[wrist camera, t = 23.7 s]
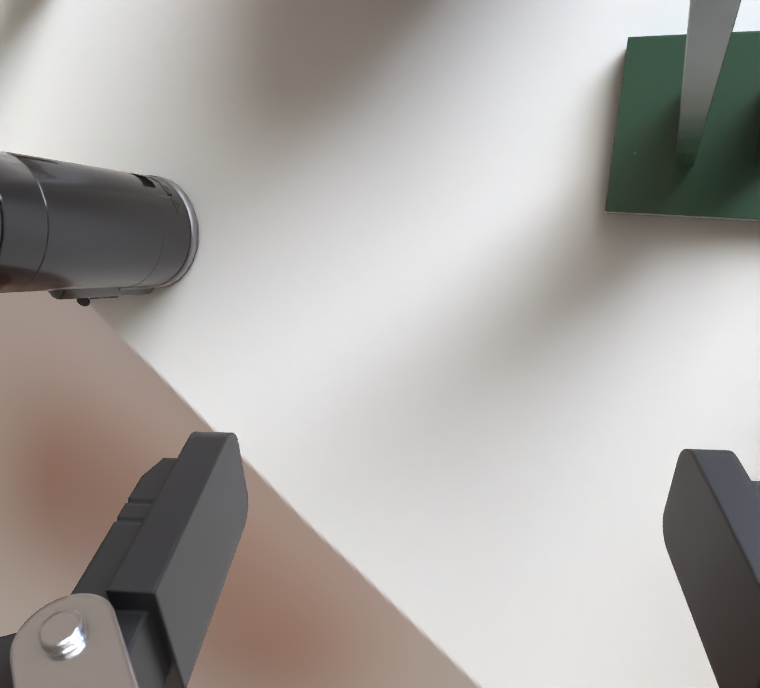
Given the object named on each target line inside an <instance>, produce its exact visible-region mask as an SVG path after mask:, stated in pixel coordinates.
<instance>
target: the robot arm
mask: <svg viewBox="0 0 760 688" xmlns="http://www.w3.org/2000/svg"><path fill="white" fill-rule="evenodd" d="M197 243H198V225H197V219H196V215H195V212H194V209H193V206H192V204H191V202H190V200H189V198H188V197H187V195H186V194H185V193H184V191H183V190H182V189H181V188H180V187H179V186H178V185H177V184H175V183H174V182H172V181H170V180H168V179H166V178H163V177H158V176H151V175H143V174H142V175H139V174H138V173H137V174H133V172H132V173H127V172H122V171H116V170H110V169H104V168H98V167H93V166H87V165H81V164H75V163H69V162H63V161H57V160H51V159H45V158H39V157H33V156H27V155H21V154H15V153H9V152H2V151H0V293H5V292H25V291H48V292H49V293H50V294H51V295H52V297H54V298H56V299H74V298H77V302H78V303H79V304H80V305H82V306H88V305H89V304H90V300H89V299H88V298H90V299H100V298H116V297H119V296H126V295H143V294H150V293H151V291H152V290H153V289H154V288H155V287H165V286H168V285H171V284H173V283H174V282H176V281H177V280H179V279H180V278H181V277H182V276H183V275H184V274H185V273H186V272H187V270H188V269H189V267H190V265H191V263H192V261H193V259H194V256H195V253H196V249H197ZM247 511H248V493H247V488H246V482H245V477H244V471H243V466H242V460H241V455H240V449H239V444H238V439H237V437H236V435H235V434H234V433H224V432H193V433H192V434H191V435H190V437H189V438H188V440H187V442H186V444H185V446H184V447H183V449H182V451H181V453H180V455H179V457H178V458H163V459H162V460H161V461H160V462H158V463H157V464H156V465H155V466H154V467H152V468H151V469H150V470H149V471H148V472H147V473H145V474H144V475H143V476H142V477H141V479H140V480H139V482H138V483H137V485H136V487H135V489H134V490H133V492H132V493H131V495H130V497H129V498H128V503H126V504H125V505H124V507H123V509H122V510H121V512H120V514H119V515H118V517H117V518H118V519H117V522H114V524H113V525H112V527H111V529H110V530H109V532H108V534H107V535H106V537H105V539H104V540H103V542H102V544H101V545H100V547H99V549H98V550H97V552H96V554H95V555H94V557H93V559H92V560H91V562H90V564H89V565H88V567H87V569H86V571H85V572H84V574H83V575H82V577H81V579H80V580H79V582H78V584H77V586H76V587H75V589H74V591H73V592H72V593H71V595H69V596H65V597H63V598H59V599H57V600H55V601H53V602H51V603H49V604H47V605H45V606H44V607H42V608H41V609H39V610H38V611H37V612H36V613H34V614H33V615H32V616H31V617H30V618H29V619H28V620H27V621H26V622H25V623H24V624H23V625H22V627H21V628H20V629H19V631H18V632H17V633H14V634H11V635H7V636H3V637H0V688H187V685H188V682H189V679H190V676H191V674H192V671H193V668H194V665H195V663H196V660H197V657H198V654H199V652H200V649H201V646H202V643H203V640H204V638H205V635H206V632H207V629H208V626H209V624H210V621H211V618H212V616H213V613H214V610H215V607H216V604H217V602H218V599H219V596H220V593H221V590H222V588H223V585H224V582H225V579H226V577H227V574H228V571H229V568H230V566H231V562H232V560H233V557H234V554H235V552H236V549H237V546H238V543H239V541H240V538H241V535H242V532H243V529H244V526H245V523H246V518H247ZM663 535H664V541H665V545H666V548H667V551H668V554H669V557H670V559H671V562H672V564H673V567H674V570H675V572H676V575H677V578H678V580H679V583H680V585H681V588H682V591H683V593H684V596H685V599H686V601H687V604H688V607H689V609H690V612H691V614H692V617H693V620H694V622H695V625H696V628H697V630H698V633H699V636H700V638H701V641H702V643H703V646H704V649H705V651H706V654H707V657H708V659H709V662H710V665H711V667H712V670H713V672H714V675H715V678H716V680H717V683H718V686H719V688H760V481H751V480H750V478H749V476H748V475H747V473H746V471H745V469H744V468H743V466H742V464H741V463H740V461H739V459H738V458H737V456H736V455H735V454H734V453H733V452H732V451H729V450H701V449H684V450H683V451H682V452H681V453H680V455H679V458H678V461H677V465H676V469H675V472H674V476H673V480H672V483H671V487H670V491H669V495H668V498H667V502H666V506H665V510H664V514H663Z"/></svg>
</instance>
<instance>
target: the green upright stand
mask: <svg viewBox="0 0 760 688" xmlns="http://www.w3.org/2000/svg"><path fill="white" fill-rule="evenodd" d="M740 3H741V0H690V8H689V18H688V29H687V34H685V35H664V36H643V37H629V38H628V42H627V50H626V57H625V64H624V72H623V79H622V87H621V94H620V102H619V109H618V117H617V124H616V132H615V139H614V147H613V154H612V162H611V169H610V176H609V184H608V191H607V199H606V206H605V211H606V212H607V213H613V214H631V215H650V216H668V217H687V218H705V219H724V220H742V221H760V31H747V32H732V31H733V27H734V24H735V20H736V17H737V13H738V10H739V6H740Z"/></svg>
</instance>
